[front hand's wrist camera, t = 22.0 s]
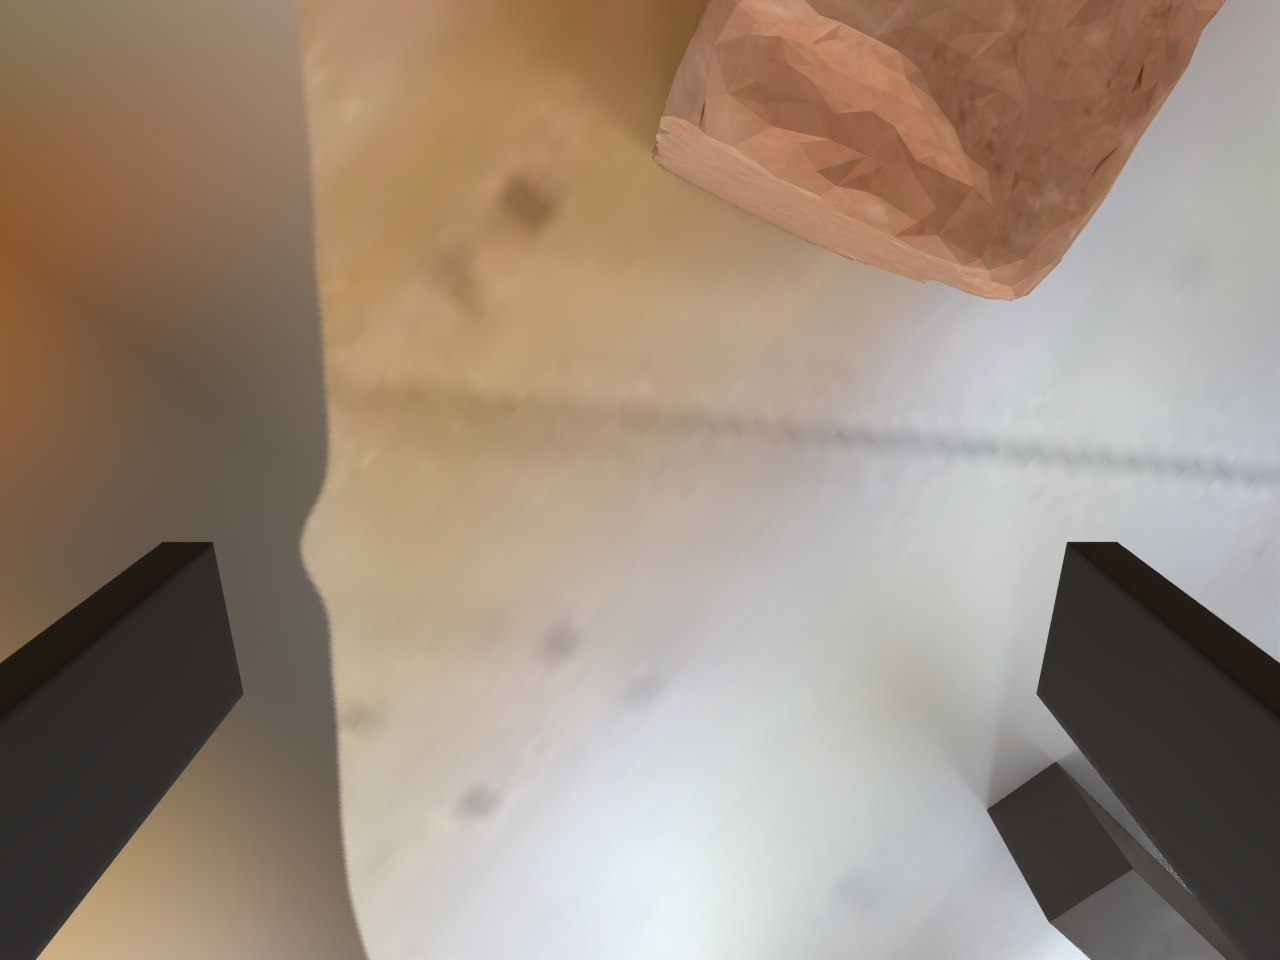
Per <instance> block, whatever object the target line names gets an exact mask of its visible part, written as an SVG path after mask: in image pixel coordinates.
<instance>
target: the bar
mask: <svg viewBox="0 0 1280 960" xmlns="http://www.w3.org/2000/svg"><path fill="white" fill-rule="evenodd" d="M987 812H988V813H989V815H990V817H991V819H992V821H993V822H994V824H995V826H996V828H997V830H998V831H999V833H1000V835H1001V837H1002V839H1003V840H1004V842H1005V844H1006V846H1007V848H1008V849H1009V851H1010V853H1011V855H1012V857H1013V858H1014V860H1015V862H1016V864H1017V866H1018V867H1019V869H1020V871H1021V873H1022V875H1023V876H1024V878H1025V880H1026V882H1027V884H1028V885H1029V887H1030V889H1031V891H1032V893H1033V894H1034V896H1035V898H1036V900H1037V902H1038V903H1039V905H1040V907H1041V909H1042V911H1043V912H1044V914H1045V916H1046V918H1047V920H1048V921H1049V923H1051V924H1052V925H1053V926H1054V927H1055V928H1056V929H1057V930H1058V931H1059V932H1061V933H1062V934H1063V935H1064V936H1065V937H1066V938H1067V939H1068V940H1069V941H1071V942H1072V943H1073V944H1074V945H1075V946H1076V947H1077V948H1078V949H1079V950H1081V951H1082V952H1083V953H1084V954H1085V955H1086V956H1087V957H1088V958H1090V959H1091V960H1244V959H1243V958H1242V956H1241V955H1240V954H1239V952H1238V951H1237V950H1236V949H1235V947H1234V946H1233V945H1232V943H1231V942H1230V941H1229V940H1228V938H1227V937H1226V936H1225V934H1224V933H1223V932H1222V931H1221V929H1220V928H1219V927H1218V926H1217V924H1216V923H1215V922H1214V920H1213V919H1212V918H1211V917H1210V915H1209V914H1208V913H1207V911H1206V910H1205V909H1204V908H1203V906H1202V905H1201V904H1200V903H1199V902H1198V901H1197V900H1196V899H1195V898H1194V897H1193V896H1192V895H1191V894H1190V893H1189V892H1188V891H1187V890H1186V889H1185V888H1184V887H1183V886H1182V885H1181V884H1180V883H1179V882H1178V881H1177V880H1176V879H1175V878H1174V877H1173V876H1172V875H1171V874H1170V873H1169V872H1168V871H1167V870H1165V869H1164V868H1163V867H1162V866H1161V865H1160V864H1159V863H1158V862H1157V861H1156V860H1155V859H1154V858H1153V857H1152V856H1151V855H1150V854H1149V853H1148V852H1147V851H1146V850H1145V849H1144V848H1143V847H1142V846H1141V845H1140V844H1139V843H1138V842H1137V841H1136V840H1135V839H1134V838H1133V837H1132V836H1131V835H1130V834H1129V833H1128V832H1127V831H1126V830H1125V829H1124V828H1123V827H1122V826H1121V825H1120V824H1119V823H1118V822H1117V821H1116V820H1115V819H1114V818H1113V817H1112V816H1111V815H1110V814H1109V813H1108V812H1107V811H1106V810H1105V809H1104V808H1103V807H1102V806H1101V805H1099V804H1098V803H1097V802H1096V801H1095V800H1094V799H1093V798H1092V797H1091V796H1090V795H1089V794H1088V793H1087V792H1086V791H1085V790H1084V789H1083V788H1082V787H1081V786H1080V785H1079V784H1078V783H1077V782H1076V781H1075V780H1074V779H1073V778H1072V777H1071V776H1070V775H1069V774H1068V773H1067V772H1066V771H1065V770H1064V769H1063V768H1062V767H1061V766H1060V765H1059V764H1058V763H1057V762H1055V763H1054V764H1052V765H1051V766H1050V767H1048V768H1047V769H1045V770H1044V771H1042V772H1041V773H1040V774H1038V775H1037V776H1035V777H1034V778H1032V779H1031V780H1030V781H1028V782H1027V783H1025V784H1024V785H1022V786H1021V787H1019V788H1018V789H1017V790H1015V791H1014V792H1012V793H1011V794H1009V795H1008V796H1007V797H1005V798H1004V799H1002V800H1001V801H999V802H998V803H997V804H995V805H994V806H992V807H991V808H989V809H988V810H987Z"/></svg>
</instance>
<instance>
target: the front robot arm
mask: <svg viewBox="0 0 1280 960" xmlns="http://www.w3.org/2000/svg"><path fill="white" fill-rule="evenodd" d="M242 695H243V689H242V684H241V679H240V674H239V669H238V664H237V659H236V654H235V649H234V644H233V640H232V635H231V630H230V625H229V620H228V615H227V610H226V605H225V600H224V595H223V590H222V585H221V580H220V575H219V570H218V565H217V560H216V555H215V550H214V546H213V542H162V543H161V544H160V545H158V546H157V547H156V548H154V549H153V550H152V551H150V552H149V553H148V554H146V555H145V556H144V557H142V558H141V559H140V560H138V561H137V562H136V563H134V564H133V565H131V566H130V567H129V568H127V569H126V570H125V571H123V572H122V573H121V574H119V575H118V576H117V577H115V578H114V579H113V580H111V581H110V582H109V583H107V584H106V585H105V586H103V587H102V588H101V589H99V590H98V591H97V592H95V593H94V594H93V595H91V596H90V597H88V598H87V599H86V600H84V601H83V602H82V603H81V604H79V605H78V606H76V607H75V608H74V609H72V610H71V611H70V612H68V613H67V614H66V615H64V616H63V617H62V618H60V619H59V620H58V621H56V622H55V623H54V624H52V625H51V626H50V627H48V628H47V629H46V630H44V631H43V632H42V633H40V634H39V635H37V636H36V637H35V638H33V639H32V640H31V641H29V642H28V643H27V644H25V645H24V646H23V647H21V648H20V649H19V650H17V651H16V652H15V653H13V654H12V655H11V656H9V657H8V658H7V659H5V660H4V661H3V662H1V663H0V960H36V959H37V958H38V956H39V955H40V954H41V952H42V951H43V950H44V949H45V947H46V946H47V945H48V943H49V942H50V941H51V940H52V938H53V937H54V936H55V934H56V933H57V932H58V931H59V929H60V928H61V927H62V926H63V924H64V923H65V922H66V920H67V919H68V918H69V917H70V915H71V914H72V913H73V911H74V910H75V909H76V908H77V906H78V905H79V904H80V902H81V901H82V900H83V899H84V897H85V896H86V895H87V893H88V892H89V891H90V890H91V888H92V887H93V886H94V885H95V883H96V882H97V881H98V879H99V878H100V877H101V876H102V874H103V873H104V872H105V871H106V869H107V868H108V867H109V865H110V864H111V863H112V862H113V860H114V859H115V858H116V856H117V855H118V854H119V853H120V851H121V850H122V849H123V847H124V846H125V845H126V844H127V842H128V841H129V840H130V838H131V837H132V836H133V835H134V833H135V832H136V831H137V829H138V828H139V827H140V826H141V824H142V823H143V822H144V821H145V819H146V818H147V817H148V815H149V814H150V813H151V812H152V810H153V809H154V808H155V807H156V805H157V804H158V803H159V801H160V800H161V799H162V798H163V796H164V795H165V794H166V792H167V791H168V790H169V789H170V787H171V786H172V785H173V783H174V782H175V781H176V780H177V778H178V777H179V776H180V775H181V773H182V772H183V771H184V769H185V768H186V767H187V765H188V764H189V763H190V762H191V760H192V759H193V758H194V757H195V755H196V754H197V753H198V752H199V750H200V749H201V748H202V746H203V745H204V744H205V742H206V741H207V740H208V739H209V737H210V736H211V735H212V734H213V732H214V731H215V730H216V728H217V727H218V726H219V725H220V723H221V722H222V721H223V720H224V718H225V717H226V716H227V714H228V713H229V712H230V711H231V709H232V708H233V707H234V705H235V704H236V703H237V702H238V700H239V699H240V698H241V696H242ZM1037 695H1038V696H1039V698H1040V699H1041V700H1042V702H1043V703H1044V704H1045V705H1046V707H1047V708H1048V709H1049V711H1050V712H1051V713H1052V714H1053V716H1054V717H1055V718H1056V720H1057V721H1058V722H1059V723H1060V725H1061V726H1062V727H1063V728H1064V730H1065V731H1066V732H1067V734H1068V735H1069V736H1070V737H1071V739H1072V740H1073V741H1074V743H1075V744H1076V745H1077V746H1078V748H1079V749H1080V750H1081V752H1082V753H1083V754H1084V755H1085V757H1086V758H1087V759H1088V760H1089V762H1090V763H1091V764H1092V766H1093V767H1094V768H1095V769H1096V771H1097V772H1098V773H1099V775H1100V776H1101V777H1102V778H1103V780H1104V781H1105V782H1106V783H1107V785H1108V786H1109V787H1110V789H1111V790H1112V791H1113V792H1114V794H1115V795H1116V796H1117V798H1118V799H1119V800H1120V801H1121V803H1122V804H1123V805H1124V807H1125V808H1126V809H1127V810H1128V812H1129V813H1130V814H1131V815H1132V817H1133V818H1134V819H1135V821H1136V822H1137V823H1138V824H1139V826H1140V827H1141V828H1142V830H1143V831H1144V832H1145V833H1146V835H1147V836H1148V837H1149V839H1150V840H1151V841H1152V842H1153V844H1154V845H1155V846H1156V847H1157V849H1158V850H1159V851H1160V853H1161V854H1162V855H1163V856H1164V858H1165V859H1166V860H1167V862H1168V863H1169V864H1170V865H1171V867H1172V868H1173V869H1174V871H1175V872H1176V873H1177V874H1178V876H1179V877H1180V878H1181V879H1182V881H1183V882H1184V883H1185V885H1186V886H1187V887H1188V888H1189V890H1190V891H1191V892H1192V894H1193V895H1194V896H1195V897H1196V899H1197V900H1198V901H1199V903H1200V904H1201V905H1202V906H1203V908H1204V909H1205V910H1206V911H1207V913H1208V914H1209V915H1210V917H1211V918H1212V919H1213V920H1214V922H1215V923H1216V924H1217V926H1218V927H1219V928H1220V929H1221V931H1222V932H1223V933H1224V934H1225V936H1226V937H1227V938H1228V940H1229V941H1230V942H1231V943H1232V945H1233V946H1234V947H1235V949H1236V950H1237V951H1238V952H1239V954H1240V955H1241V956H1242V958H1243V959H1244V960H1280V663H1279V662H1277V661H1276V660H1275V659H1273V658H1272V657H1271V656H1269V655H1268V654H1267V653H1265V652H1264V651H1263V650H1261V649H1260V648H1259V647H1257V646H1256V645H1255V644H1253V643H1252V642H1251V641H1249V640H1248V639H1247V638H1245V637H1244V636H1243V635H1241V634H1240V633H1238V632H1237V631H1236V630H1234V629H1233V628H1232V627H1230V626H1229V625H1228V624H1226V623H1225V622H1224V621H1222V620H1221V619H1220V618H1218V617H1217V616H1216V615H1214V614H1213V613H1212V612H1210V611H1209V610H1208V609H1206V608H1205V607H1204V606H1202V605H1201V604H1200V603H1198V602H1197V601H1196V600H1194V599H1193V598H1192V597H1190V596H1189V595H1187V594H1186V593H1185V592H1183V591H1182V590H1181V589H1179V588H1178V587H1177V586H1175V585H1174V584H1173V583H1171V582H1170V581H1169V580H1167V579H1166V578H1165V577H1163V576H1162V575H1161V574H1159V573H1158V572H1157V571H1155V570H1154V569H1153V568H1151V567H1150V566H1149V565H1147V564H1146V563H1145V562H1143V561H1142V560H1141V559H1139V558H1138V557H1136V556H1135V555H1134V554H1132V553H1131V552H1130V551H1128V550H1127V549H1126V548H1124V547H1123V546H1122V545H1120V544H1119V543H1118V542H1067V545H1066V550H1065V555H1064V560H1063V565H1062V570H1061V575H1060V580H1059V585H1058V590H1057V595H1056V600H1055V605H1054V610H1053V615H1052V620H1051V625H1050V630H1049V635H1048V639H1047V644H1046V649H1045V654H1044V659H1043V664H1042V669H1041V674H1040V679H1039V684H1038V689H1037Z"/></svg>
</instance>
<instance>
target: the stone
mask: <svg viewBox="0 0 1280 960" xmlns="http://www.w3.org/2000/svg"><path fill="white" fill-rule="evenodd" d="M1224 2H1225V0H708V1H707V3H706V5H705V8H704V11H703V14H702V17H701V19H700V21H699V23H698V26H697V28H696V30H695V33H694V35H693V37H692V39H691V41H690V43H689V45H688V47H687V49H686V51H685V54H684V56H683V58H682V60H681V63H680V65H679V67H678V70H677V72H676V74H675V77H674V80H673V83H672V86H671V89H670V92H669V95H668V98H667V101H666V104H665V107H664V110H663V113H662V117H661V120H660V123H659V125H660V126H659V129H658V131H657V134H656V145H655V147H654V150H653V152H652V154H653V161H654V162H655V163H657V164H658V165H659V166H660V167H661V168H663V169H664V170H666V171H668V172H670V173H672V174H674V175H676V176H678V177H680V178H682V179H683V180H685V181H687V182H689V183H691V184H693V185H695V186H697V187H699V188H701V189H703V190H704V191H706V192H708V193H710V194H712V195H714V196H716V197H718V198H720V199H722V200H724V201H726V202H728V203H730V204H732V205H734V206H736V207H738V208H740V209H742V210H743V211H745V212H747V213H749V214H751V215H753V216H755V217H757V218H759V219H762V220H764V221H766V222H768V223H770V224H772V225H774V226H776V227H778V228H780V229H782V230H784V231H786V232H788V233H791V234H793V235H795V236H797V237H799V238H801V239H803V240H805V241H807V242H809V243H810V244H813V245H816V246H820V247H822V248H825V249H827V250H829V251H832V252H834V253H836V254H838V255H841V256H843V257H846V258H848V259H851V260H857V261H859V262H861V263H864V264H867V265H872V266H875V267H879V268H882V269H885V270H888V271H891V272H895V273H897V274H900V275H903V276H906V277H909V278H912V279H914V280H917V281H919V282H922V283H925V282H927V281H929V280H931V279H934V280H936V281H939V282H941V283H944V284H947V285H949V286H952V287H954V288H957V289H960V290H962V291H964V292H966V293H969V294H973V295H976V296H981V297H984V298H988V299H998V300H1008V301H1012V300H1014V299H1017V298H1020V297H1023V296H1026V295H1028V294H1029V293H1030V292H1031V291H1032V290H1033V289H1034V288H1035V287H1036V286H1037V285H1038V284H1039V283H1040V282H1041V281H1042V280H1043V279H1044V278H1045V277H1046V276H1047V275H1048V274H1049V273H1050V272H1051V271H1052V270H1053V269H1054V268H1055V267H1056V266H1057V264H1058V263H1059V262H1060V261H1061V259H1062V257H1063V255H1064V254H1065V253H1066V251H1067V250H1068V249H1069V247H1070V246H1071V244H1072V243H1073V242H1074V240H1075V239H1076V238H1077V236H1078V235H1079V234H1080V232H1081V231H1082V229H1083V228H1084V227H1085V225H1086V224H1087V223H1088V221H1089V220H1090V219H1091V217H1092V216H1093V215H1094V213H1095V212H1096V210H1097V209H1098V208H1099V206H1100V205H1101V204H1102V202H1103V201H1104V199H1105V197H1106V195H1107V194H1108V192H1109V190H1110V189H1111V187H1112V185H1113V184H1114V182H1115V180H1116V178H1117V177H1118V175H1119V173H1120V172H1121V170H1122V168H1123V167H1124V165H1125V163H1126V161H1127V160H1128V158H1129V156H1130V154H1131V153H1132V151H1133V149H1134V148H1135V146H1136V144H1137V142H1138V141H1139V139H1140V137H1141V136H1142V135H1143V133H1144V132H1145V130H1146V129H1147V127H1148V126H1149V124H1150V123H1151V121H1152V120H1153V118H1154V117H1155V115H1156V114H1157V112H1158V111H1159V109H1160V108H1161V106H1162V105H1163V103H1164V102H1165V100H1166V99H1167V97H1168V96H1169V94H1170V93H1171V91H1172V90H1173V88H1174V86H1175V85H1176V83H1177V82H1178V80H1179V79H1180V77H1181V76H1182V74H1183V73H1184V71H1185V69H1186V68H1187V66H1188V65H1189V62H1190V60H1191V57H1192V55H1193V52H1194V50H1195V47H1196V45H1197V42H1198V40H1199V37H1200V35H1201V32H1202V30H1203V28H1204V27H1205V26H1206V25H1207V24H1208V23H1209V21H1210V20H1211V19H1212V18H1213V17H1214V15H1215V14H1216V13H1217V12H1218V11H1219V9H1220V8H1221V6H1222V5H1223V3H1224Z"/></svg>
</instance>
